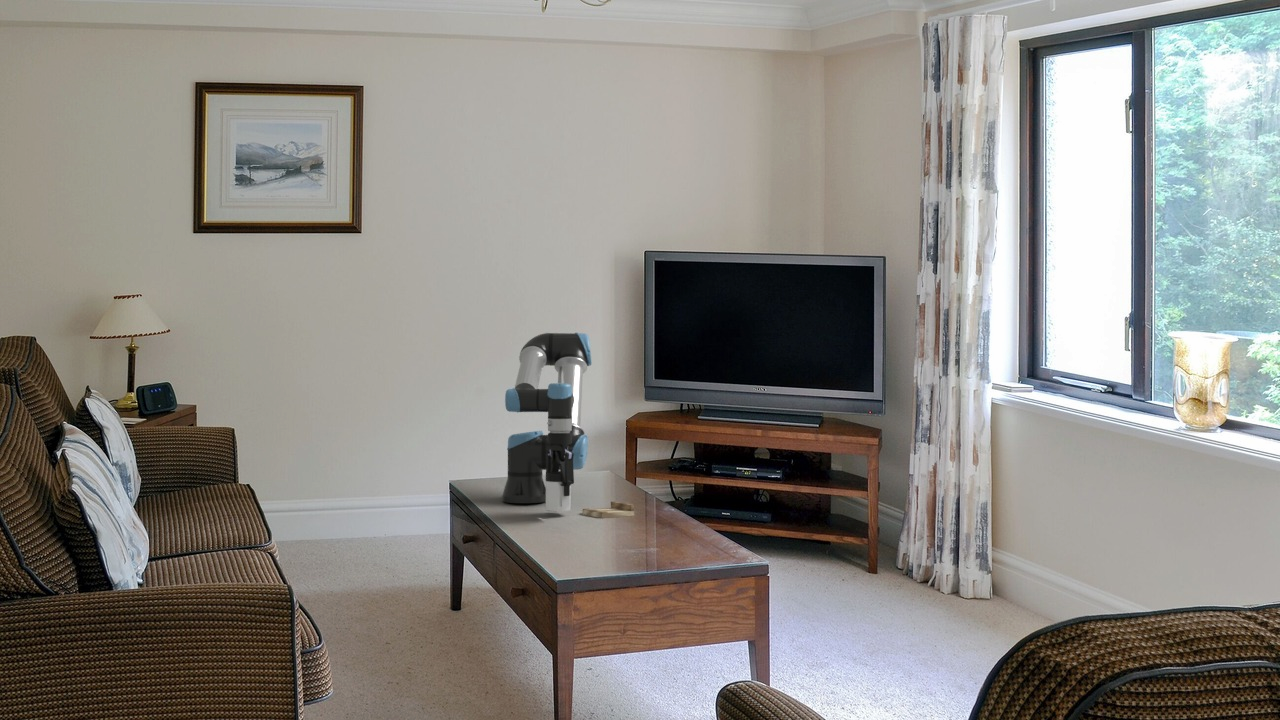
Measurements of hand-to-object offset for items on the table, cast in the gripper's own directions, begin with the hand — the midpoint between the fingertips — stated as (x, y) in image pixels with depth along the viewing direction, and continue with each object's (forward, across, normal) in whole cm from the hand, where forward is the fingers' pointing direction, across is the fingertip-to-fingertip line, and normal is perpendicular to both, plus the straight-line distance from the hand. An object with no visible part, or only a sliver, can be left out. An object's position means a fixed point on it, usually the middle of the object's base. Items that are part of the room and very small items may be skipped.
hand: (559, 505), depth 344 cm
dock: (+4, +5, +15) cm, 16 cm away
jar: (+2, -1, 0) cm, 2 cm away
